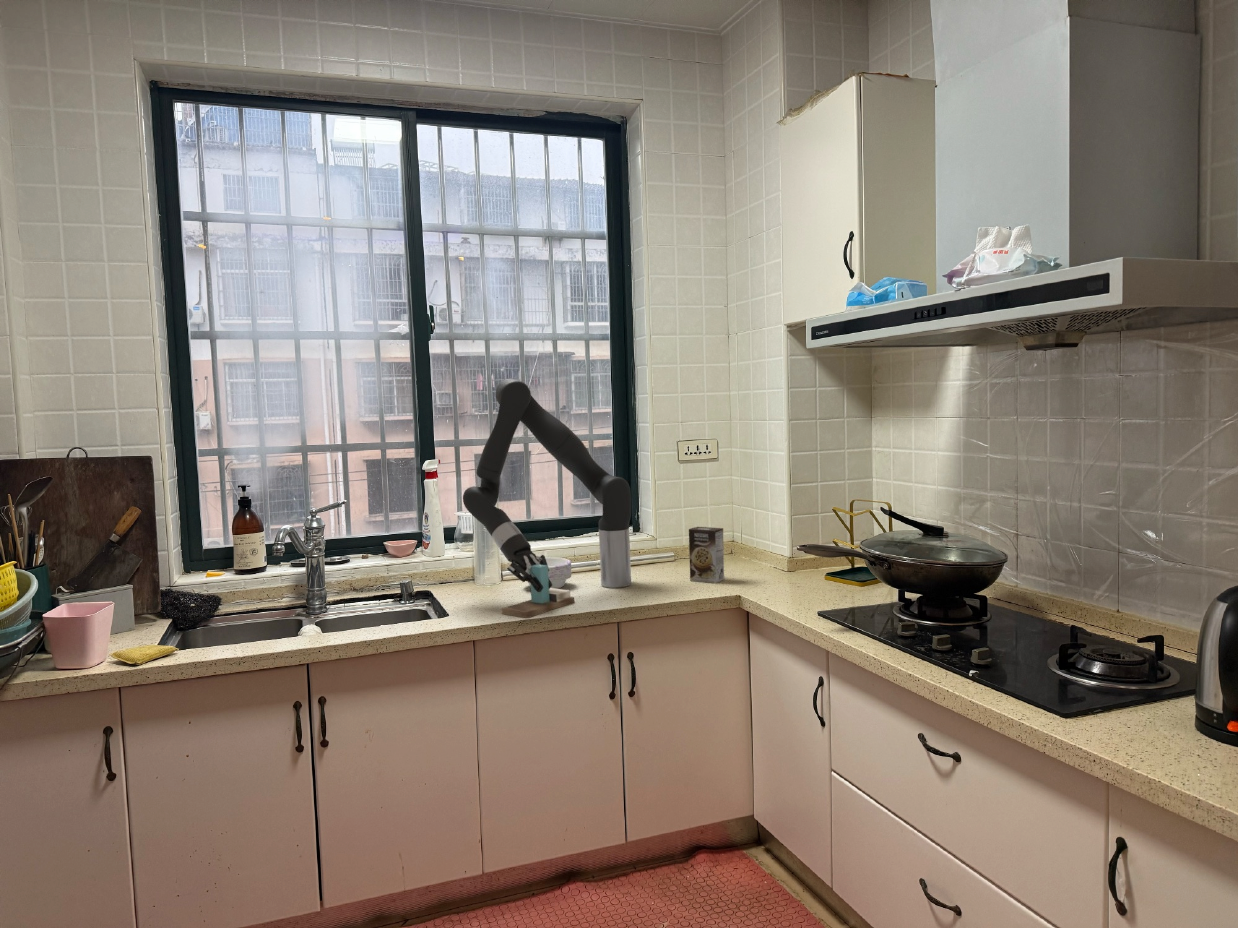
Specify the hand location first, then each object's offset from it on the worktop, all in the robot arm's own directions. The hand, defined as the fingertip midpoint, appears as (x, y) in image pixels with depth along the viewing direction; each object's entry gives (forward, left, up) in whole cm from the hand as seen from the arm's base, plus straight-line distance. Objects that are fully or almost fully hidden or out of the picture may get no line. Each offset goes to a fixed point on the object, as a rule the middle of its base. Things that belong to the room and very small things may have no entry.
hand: (545, 588), depth 234 cm
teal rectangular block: (-1, -2, -4) cm, 4 cm away
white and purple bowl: (-27, -1, -6) cm, 28 cm away
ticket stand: (-1, -2, -5) cm, 6 cm away
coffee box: (-25, +48, -6) cm, 55 cm away
